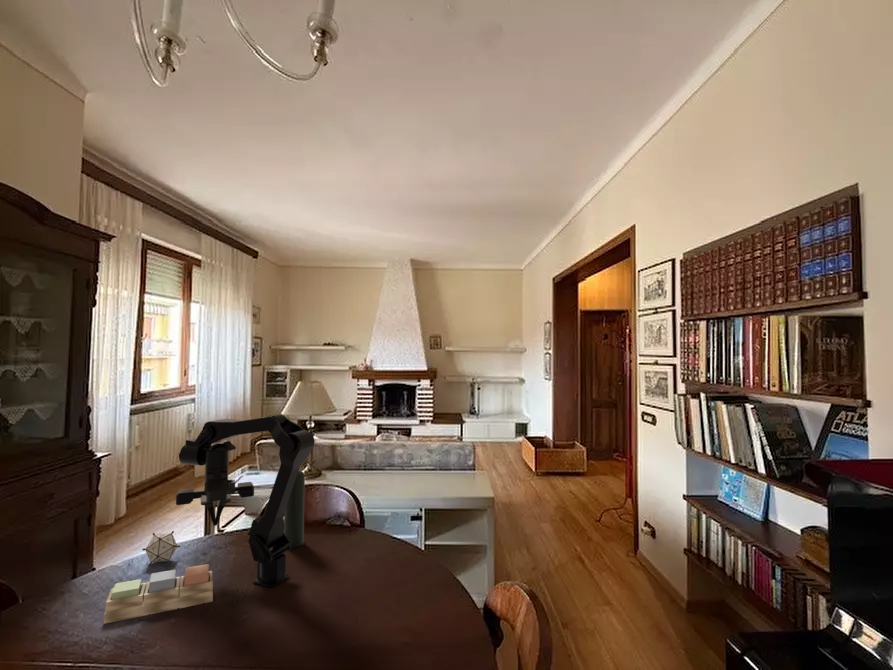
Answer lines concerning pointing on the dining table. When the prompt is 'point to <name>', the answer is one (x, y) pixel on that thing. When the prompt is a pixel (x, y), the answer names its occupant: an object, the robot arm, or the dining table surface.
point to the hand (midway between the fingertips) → (215, 525)
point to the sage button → (126, 589)
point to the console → (158, 600)
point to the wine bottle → (295, 512)
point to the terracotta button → (196, 575)
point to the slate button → (162, 581)
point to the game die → (161, 548)
